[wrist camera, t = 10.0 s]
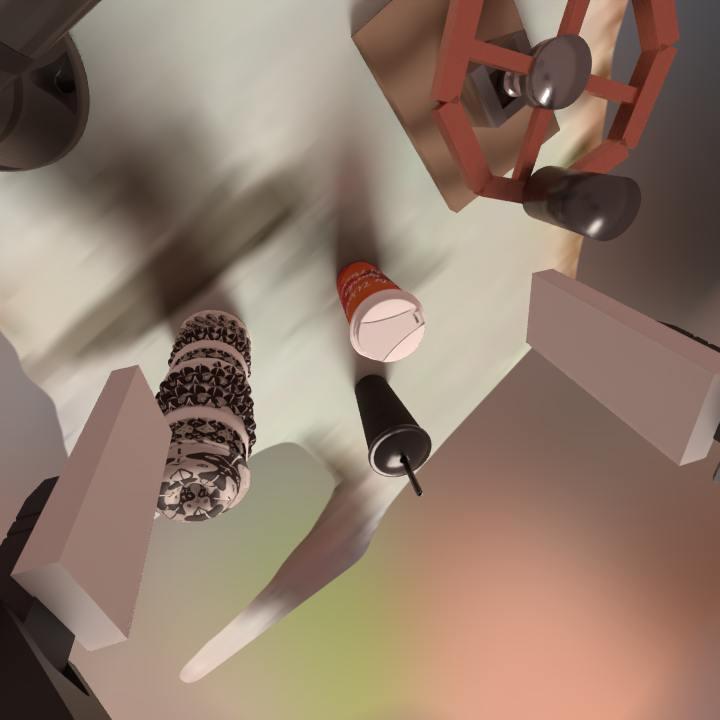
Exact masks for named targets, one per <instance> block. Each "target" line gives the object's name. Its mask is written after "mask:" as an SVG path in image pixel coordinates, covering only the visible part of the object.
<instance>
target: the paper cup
mask: <svg viewBox="0 0 720 720" xmlns="http://www.w3.org/2000/svg"><path fill="white" fill-rule="evenodd" d="M337 289H338V293H339V297H340V300H341V303H342V306H343V308H344V311H345V314H346V317H347V320H348V322H349V325H350V340H351V343H352V345H353V347H354V348H355V350H356V351H357V352H358V353H359V354H360V355H363V356H366V357H368V358H370V359H374V360H378V361H382V362H393V361H397V360H400V359H402V358H404V357H406V356H407V355H409V354H410V353H411V352H413V351H414V350H415V349H416V347H417V346H418V345H419V343H420V341H421V339H422V337H423V334H424V329H425V315H424V310H423V308H422V306H421V304H420V302H419V301H418V300H417V299H416V298H415V297H414V296H413V295H412V294H410V293H408V292H406V291H403V290H402V289H400V288H399V287H398V286H397V285H396V284H394V283H393V282H392V281H391V280H390V279H389V278H387V277H386V276H385V275H384V274H383V273H382V272H380V271H379V270H378V269H377V268H375V267H374V266H372V265H371V264H369V263H366V262H355V263H352V264H350V265H348V266H346V267H345V268H344V269H343V270H342V271H341V273H340V275H339V277H338V281H337Z"/></svg>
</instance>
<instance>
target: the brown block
mask: <svg viewBox="0 0 720 720" xmlns="http://www.w3.org/2000/svg"><path fill="white" fill-rule="evenodd" d="M449 5H450V0H392V1H390V2H389V3H388V4H387V5H386V6H385V7H384V8H383V9H382V10H381V11H379V12H378V13H377V14H376V15H375V16H374V17H373V18H372V19H371V20H370V21H369V22H367V23H366V24H365V25H364V26H363V27H362V28H361V29H360V30H359V31H358V32H357V33H355V34H354V35H353V36H352V37H351V38H352V39H353V41H354V43H355V45H356V46H357V48H358V50H359V52H360V53H361V55H362V57H363V59H364V60H365V62H366V64H367V66H368V67H369V69H370V71H371V73H372V74H373V76H374V78H375V80H376V81H377V83H378V85H379V87H380V88H381V90H382V92H383V93H384V95H385V97H386V99H387V100H388V102H389V104H390V106H391V107H392V109H393V111H394V113H395V114H396V116H397V118H398V120H399V121H400V123H401V125H402V127H403V128H404V130H405V132H406V134H407V135H408V137H409V139H410V141H411V142H412V144H413V146H414V148H415V149H416V151H417V153H418V155H419V156H420V158H421V160H422V162H423V163H424V165H425V167H426V169H427V170H428V172H429V174H430V175H431V177H432V179H433V181H434V182H435V184H436V186H437V188H438V189H439V191H440V193H441V195H442V196H443V198H444V200H445V202H446V203H447V205H448V207H449V209H450V210H452V211H454V212H456V213H458V212H459V211H460V210H461V209H463V208H464V207H465V206H466V205H468V204H469V203H470V202H471V201H473V200H474V199H475V198H476V197H477V196H479V195H476V194H473V192H474V191H472V190H469V189H467V187H466V185H465V183H464V181H463V179H462V177H461V174H460V172H459V170H458V168H457V166H456V164H455V162H454V160H453V158H452V156H451V154H450V152H449V150H448V148H447V145H446V143H445V141H444V139H443V137H442V135H441V133H440V131H439V129H438V127H437V125H436V123H435V121H434V119H433V117H432V114H431V112H430V110H431V109H432V108H434V107H435V106H436V105H437V104H439V103H437V102H433V101H429V96H430V92H431V87H432V83H433V78H434V73H435V69H436V64H437V60H438V55H439V50H440V46H441V41H442V37H443V32H444V28H445V23H446V18H447V14H448V9H449ZM474 39H475V40H478V41H482V42H485V43H488V44H492V45H495V46H498V47H502V48H505V49H508V50H512V51H515V52H518V53H522V54H525V55H528V54H529V52H530V51H531V50H532V49H531V46H530V43H529V41H528V38H527V35H526V32H525V29H523V26H522V23H521V20H520V18H519V15H518V12H517V9H516V6H515V4H514V1H513V0H484V1H483V5H482V9H481V14H480V18H479V22H478V26H477V30H476V34H475V38H474ZM502 71H503V70H500V69H496V68H493V67H489V66H486V65H482V64H479V63H475V62H471V61H469V62H468V66H467V70H466V74H465V78H464V82H463V87H462V91H461V95H460V99H459V100H460V102H461V104H462V107H463V109H464V111H465V114H466V116H467V118H468V120H469V123H470V125H471V127H472V130H473V132H474V134H475V136H476V139H477V141H478V143H479V146H480V148H481V150H482V152H483V155H484V157H485V159H486V161H487V164H488V166H489V168H490V171H491V173H492V175H495V176H500V177H502V176H504V175H505V174H506V173H507V172H509V171H510V170H511V169H512V168H514V167H515V165H516V162H517V159H518V156H519V153H520V150H521V146H522V143H523V140H524V137H525V134H526V131H527V128H528V124H529V121H530V118H531V115H532V112H533V108H531V107H529V106H528V105H527V104H526V103H525V101H524V100H523V98H522V96H518V97H510V96H508V95H507V94H504V93H501V92H500V91H499V89H498V86H497V80H498V77H499V75H500V73H501V72H502ZM558 131H560V128H559V125H558V123H557V120H556V117H555V114H554V112H552V115H551V118H550V121H549V123H548V126H547V129H546V132H545V135H544V138H543V141H542V144H543V143H545V142H546V141H547V140H548V139H550V138H551V137H552V136H553V135H555V134H556V133H557V132H558ZM542 144H541V145H542Z"/></svg>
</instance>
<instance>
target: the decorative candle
mask: <svg viewBox="0 0 720 720" xmlns="http://www.w3.org/2000/svg"><path fill="white" fill-rule="evenodd" d="M250 345H251V342H250V337H249V334H248V332H247V329H246V327H245V325H244V324H243V323H242V322H241V321H240V320H239V319H238V318H237V317H236V316H233V315H231V314H229V313H227V312H225V311H220V310H205V311H201V312H197V313H194V314H193V315H191V316H190V317H189V318H188V319H186V320H185V321H184V322H183V324H182V326H181V328H180V329H179V332H178V335H177V337H176V339H175V345H173V351H172V352H171V358H170V359H169V360H168V365H169V366H170V369H169V372H168V373H167V375H166V377H165V379H164V381H163V382H162V383H161V384H160V387H159V388H160V392H158V393H157V395H156V396H155V399H156V401H157V403H158V405H159V407H160V409H161V411H162V413H163V415H164V417H165V419H166V421H167V423H168V425H169V427H170V429H171V431H172V437H171V442H170V446H169V451H168V455H167V460H166V465H165V469H164V474H163V479H162V483H161V488H160V493H159V497H158V502H157V507H156V512H158V513H160V514H162V515H164V516H166V517H167V518H169V519H172V520H177V521H182V522H197V521H203V520H206V519H209V518H212V517H215V516H216V515H218V514H221V513H224V512H226V511H227V510H229V509H230V508H231V507H232V506H234V505H236V504H237V503H239V502H240V501H241V499H242V498H243V496H244V495H245V493H246V492H247V490H248V488H249V481H250V471H249V469H248V467H247V465H246V462H247V458H248V457H249V456H250V455H251V452H252V450H251V447H252V446H253V445H254V444H255V442H256V436H255V434H254V430H255V428H256V424H255V422H254V419H253V417H254V414H253V408H252V407H253V405H254V402H253V400H252V399H251V397H250V394H251V388H250V386H249V384H248V381H247V379H248V377H250V375H251V372H250V365H251V361H250V360H251V355H250V351H251V347H250ZM248 440H249V442H248Z"/></svg>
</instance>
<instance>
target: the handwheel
mask: <svg viewBox="0 0 720 720" xmlns="http://www.w3.org/2000/svg"><path fill="white" fill-rule="evenodd" d="M483 1H484V0H450V5H449V9H448V14H447V18H446V23H445V28H444V32H443V37H442V41H441V46H440V50H439V55H438V60H437V64H436V69H435V73H434V78H433V83H432V87H431V92H430V96H429V101H433V102H437V103H439V104H437V105H436V106H435V107H434V108H432V109H431V110H430V112H431V114H432V117H433V119H434V121H435V123H436V125H437V127H438V129H439V131H440V133H441V135H442V137H443V139H444V141H445V143H446V145H447V148H448V150H449V152H450V154H451V156H452V158H453V160H454V162H455V164H456V166H457V168H458V170H459V172H460V174H461V177H462V179H463V181H464V183H465V185H466V187H467V189H469V190H472V191H474V192H473V194H476V195H479V196H482V197H488V198H493V199H499V200H504V201H510V202H515V203H521V204H523V208H524V210H525V212H526V213H527V214H528V215H529V216H530V217H532V218H535V219H538V220H541V221H544V222H546V223H549V224H552V225H555V226H558V227H561V228H564V229H567V230H569V231H572V232H575V233H578V234H581V235H584V236H587V237H590V238H593V239H595V240H599V241H608V240H611V239H614V238H616V237H618V236H619V235H621V234H622V233H623V232H624V231H625V230H627V228H628V227H629V226H630V225H631V223H632V222H633V221H634V219H635V217H636V215H637V213H638V211H639V208H640V203H641V192H640V188H639V186H638V184H637V183H636V182H635V181H634V180H632V179H630V178H627V177H620V176H614V175H607V174H605V173H606V172H608V171H609V170H610V169H612V168H613V167H615V166H616V165H617V164H619V163H620V162H621V161H623V160H624V159H626V158H627V157H628V156H629V153H628V148H635V147H636V145H637V143H638V140H639V138H640V136H641V133H642V131H643V129H644V126H645V124H646V122H647V120H648V117H649V115H650V113H651V110H652V108H653V106H654V103H655V101H656V99H657V96H658V94H659V92H660V89H661V87H662V85H663V82H664V80H665V78H666V75H667V73H668V71H669V68H670V66H671V64H672V62H673V59H674V57H675V54H676V52H677V50H678V49H676V48H673V47H670V45H672V44H673V43H674V42H675V41H677V40H678V39H679V38H680V37H679V31H678V23H677V17H676V10H675V4H674V3H675V2H674V0H632V3H633V8H634V13H635V19H636V24H637V30H638V35H639V40H640V45H641V50H642V52H641V55H640V57H639V60H638V62H637V65H636V67H635V70H634V72H633V75H632V77H631V80H630V82H629V85H625V84H621V83H618V82H615V81H612V80H608V79H605V78H602V77H598V76H595V75H592V74H590V73H591V67H592V58H591V52H590V49H589V47H588V44H587V43H586V42H585V40H584V39H583V38H581V37H580V36H578V35H579V32H580V29H581V26H582V23H583V20H584V17H585V14H586V11H587V8H588V5H589V2H590V0H568V2H567V5H566V8H565V12H564V15H563V18H562V21H561V24H560V27H559V30H558V34H557V37H554V38H551V39H547V40H544V41H542V42H540V43H538V44H537V45H536V46H535V47H534V48H533V49H532V50H531V51H530V52H529V54H528V55H525V54H522V53H518V52H515V51H512V50H508V49H505V48H502V47H498V46H495V45H492V44H488V43H485V42H482V41H478V40H475V39H474V38H475V34H476V30H477V26H478V22H479V18H480V14H481V9H482V5H483ZM469 61H471V62H475V63H479V64H482V65H486V66H489V67H493V68H496V69H500V70H503V71H502V72H501V73H500V75H499V77H498V80H497V86H498V89H499V91H500V92H501V93H504V94H507V95H508V96H510V97H518V96H522V98H523V100H524V101H525V103H526V104H527V105H528V106H529V107H531V108H533V112H532V115H531V118H530V121H529V124H528V128H527V131H526V134H525V137H524V140H523V143H522V146H521V150H520V153H519V156H518V159H517V162H516V165H515V168H514V171H513V175H512V178H511V179H510V178H505V177H500V176H495V175H492V173H491V171H490V168H489V166H488V164H487V161H486V159H485V157H484V155H483V152H482V150H481V148H480V146H479V143H478V141H477V139H476V136H475V134H474V132H473V130H472V127H471V125H470V123H469V120H468V118H467V116H466V114H465V111H464V109H463V107H462V104H461V102H460V100H459V99H460V95H461V91H462V87H463V82H464V78H465V74H466V70H467V66H468V62H469ZM582 93H585V94H588V95H592V96H596V97H599V98H603V99H606V100H610V101H613V102H617V103H620V104H621V105H620V107H619V110H618V112H617V115H616V117H615V120H614V122H613V125H612V127H611V130H610V132H609V135H608V137H607V139H606V140H605V141H604V142H602V143H601V144H600V145H598V146H597V147H596V148H594V149H593V150H591V151H590V152H589V153H587V154H586V155H585V156H583V157H582V158H581V159H579V160H578V161H577V162H575V163H574V164H573V165H571V166H570V167H569V168H563V167H556V166H546V167H543V168H541V169H539V170H537V171H536V172H535V173H534V174H533V175H532V176H531V174H532V171H533V168H534V165H535V162H536V159H537V156H538V153H539V150H540V147H541V144H542V141H543V138H544V135H545V132H546V129H547V126H548V123H549V121H550V118H551V115H552V112H553V110H558V109H563V108H566V107H568V106H569V105H571V104H572V103H574V102H575V101H576V100H577V99H578V98H579V96H580V95H581V94H582Z"/></svg>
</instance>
